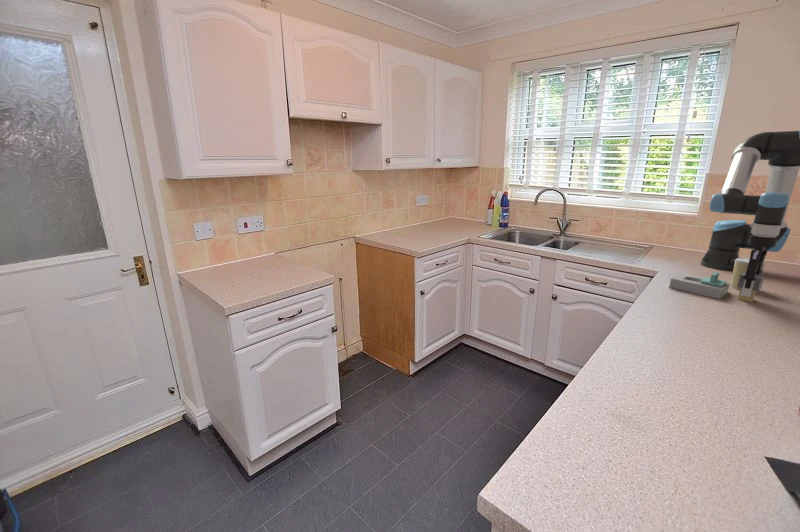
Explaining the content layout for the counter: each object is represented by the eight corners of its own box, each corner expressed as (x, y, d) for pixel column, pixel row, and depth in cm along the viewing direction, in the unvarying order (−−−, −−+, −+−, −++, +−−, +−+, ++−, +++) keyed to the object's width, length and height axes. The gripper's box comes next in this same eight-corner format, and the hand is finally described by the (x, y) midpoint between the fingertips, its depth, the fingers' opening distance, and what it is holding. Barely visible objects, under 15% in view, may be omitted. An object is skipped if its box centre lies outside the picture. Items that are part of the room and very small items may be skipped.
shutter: (705, 278, 156) (707, 270, 155) (726, 283, 151) (728, 274, 149) (699, 282, 152) (702, 273, 151) (721, 286, 146) (724, 277, 145)
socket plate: (678, 281, 165) (680, 273, 164) (727, 292, 153) (730, 283, 152) (669, 287, 158) (671, 278, 157) (719, 298, 146) (722, 289, 144)
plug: (737, 295, 149) (744, 271, 146) (757, 300, 144) (764, 275, 142) (733, 299, 145) (740, 274, 142) (754, 303, 141) (761, 278, 138)
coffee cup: (763, 292, 153) (771, 264, 149) (737, 290, 154) (744, 262, 151) (747, 284, 161) (755, 258, 158) (723, 283, 163) (730, 257, 160)
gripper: (755, 230, 146) (740, 286, 153) (744, 237, 135) (728, 296, 141) (782, 233, 140) (765, 291, 147) (772, 240, 129) (754, 302, 136)
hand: (747, 293), depth 144 cm, fingers closed on plug, 6 cm apart
